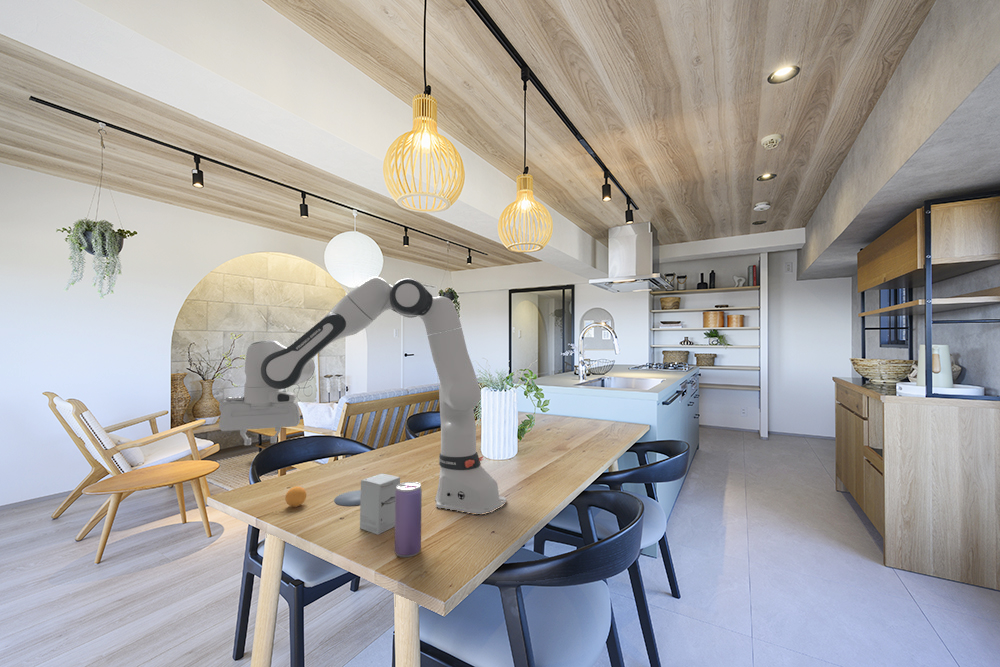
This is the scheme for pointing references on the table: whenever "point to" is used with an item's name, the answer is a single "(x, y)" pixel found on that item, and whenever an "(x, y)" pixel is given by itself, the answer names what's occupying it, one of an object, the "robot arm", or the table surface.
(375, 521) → the supplement box
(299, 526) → the table surface
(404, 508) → the beverage can
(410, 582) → the table surface
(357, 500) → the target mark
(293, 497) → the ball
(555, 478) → the table surface
